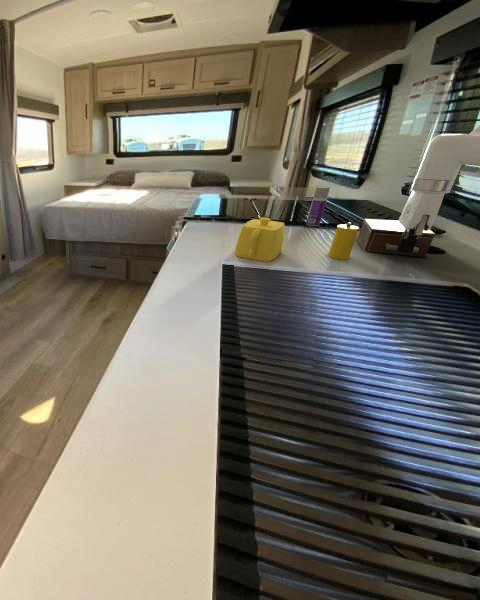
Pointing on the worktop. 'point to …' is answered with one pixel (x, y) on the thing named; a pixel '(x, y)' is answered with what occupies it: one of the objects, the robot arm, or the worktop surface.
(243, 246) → the teapot
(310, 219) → the container
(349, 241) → the yellow cylinder
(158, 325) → the worktop surface
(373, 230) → the cabinet
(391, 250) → the drawer
